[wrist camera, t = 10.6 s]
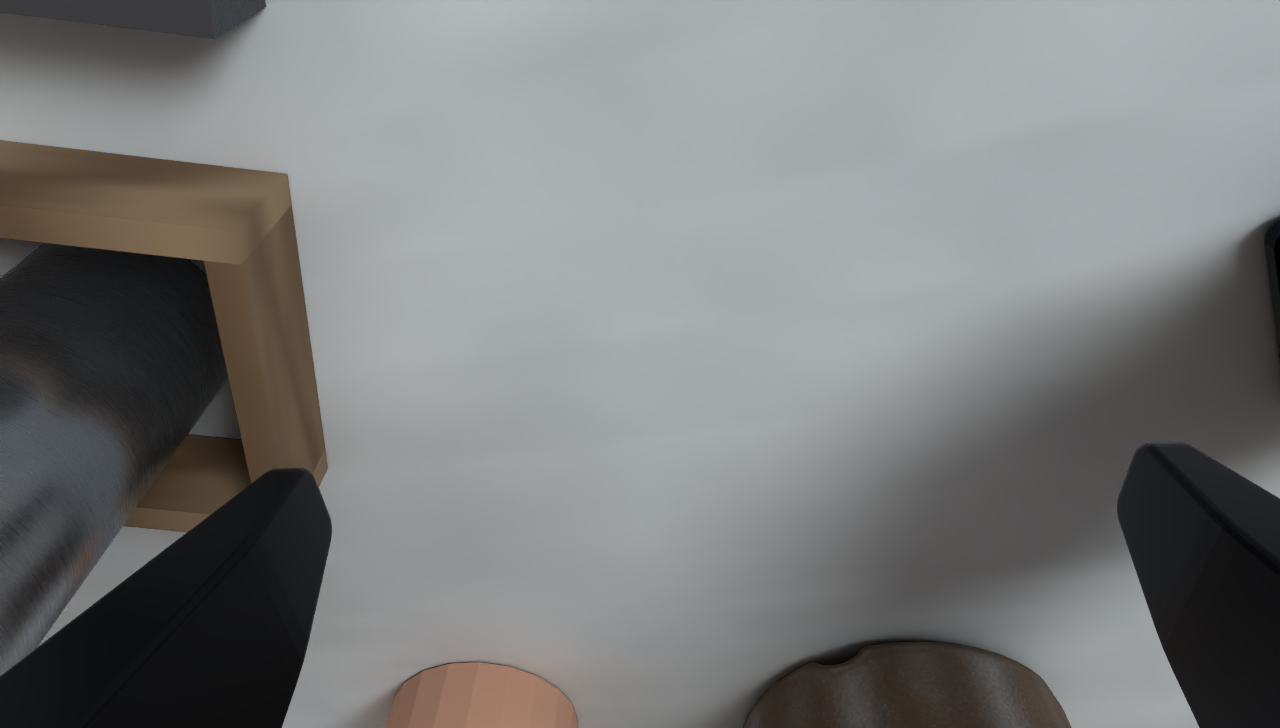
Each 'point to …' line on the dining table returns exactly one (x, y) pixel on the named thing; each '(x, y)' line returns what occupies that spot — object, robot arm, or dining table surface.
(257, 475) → the wooden square frame
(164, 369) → the brass-banded metal cylinder
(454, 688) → the pepper shaker
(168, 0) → the socket block
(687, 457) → the dining table surface
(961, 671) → the plant pot
